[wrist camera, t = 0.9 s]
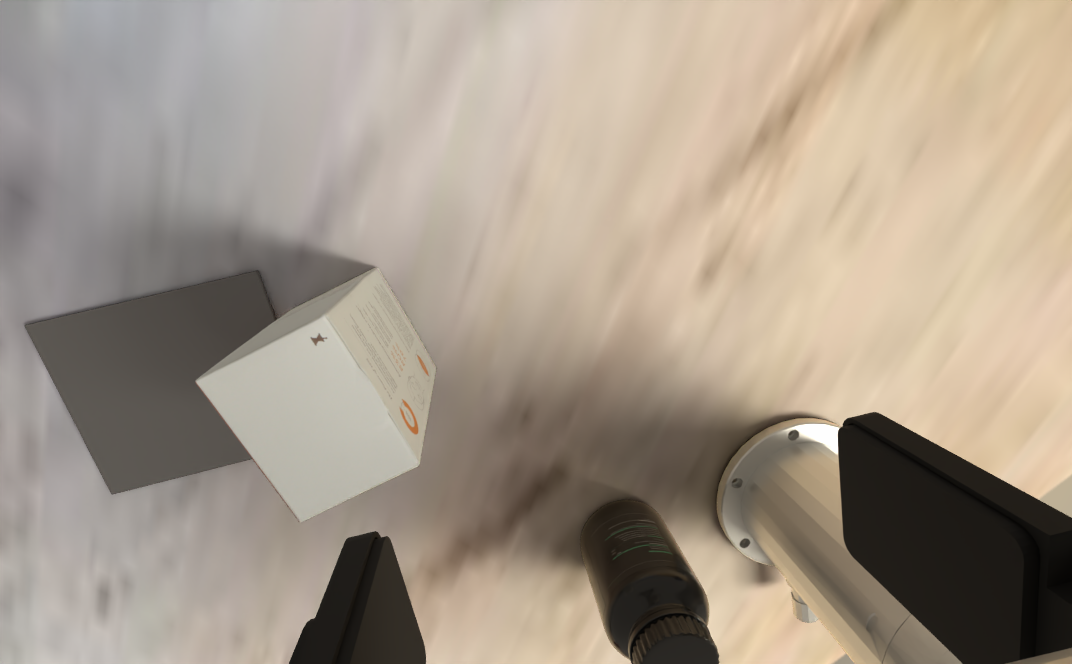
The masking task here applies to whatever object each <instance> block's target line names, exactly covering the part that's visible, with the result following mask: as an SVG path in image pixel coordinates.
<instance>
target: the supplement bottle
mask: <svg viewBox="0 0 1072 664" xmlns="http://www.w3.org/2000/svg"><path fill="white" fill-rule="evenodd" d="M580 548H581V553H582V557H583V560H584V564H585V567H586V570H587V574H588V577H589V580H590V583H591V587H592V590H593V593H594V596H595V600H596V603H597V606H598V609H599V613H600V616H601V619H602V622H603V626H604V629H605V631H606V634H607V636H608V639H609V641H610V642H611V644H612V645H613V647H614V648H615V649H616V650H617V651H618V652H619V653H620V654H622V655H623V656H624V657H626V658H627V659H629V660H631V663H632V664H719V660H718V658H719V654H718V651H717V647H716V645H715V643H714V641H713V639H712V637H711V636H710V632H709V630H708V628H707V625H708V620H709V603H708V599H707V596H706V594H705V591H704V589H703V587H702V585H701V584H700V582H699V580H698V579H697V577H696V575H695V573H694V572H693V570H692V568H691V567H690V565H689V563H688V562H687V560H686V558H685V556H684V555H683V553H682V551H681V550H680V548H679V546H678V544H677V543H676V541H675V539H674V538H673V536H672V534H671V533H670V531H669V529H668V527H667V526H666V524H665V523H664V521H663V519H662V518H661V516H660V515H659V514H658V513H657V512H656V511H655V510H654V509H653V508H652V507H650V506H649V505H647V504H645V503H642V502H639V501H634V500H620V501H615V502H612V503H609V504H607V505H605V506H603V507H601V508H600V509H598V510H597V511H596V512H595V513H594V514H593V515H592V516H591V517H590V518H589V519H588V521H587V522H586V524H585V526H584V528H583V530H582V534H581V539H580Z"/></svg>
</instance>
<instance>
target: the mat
mask: <svg viewBox="0 0 1072 664" xmlns="http://www.w3.org/2000/svg"><path fill="white" fill-rule="evenodd" d="M274 321H276V317H275V314H274V312H273V309H272V306H271V304H270V301H269V298H268V296H267V293H266V290H265V288H264V285H263V282H262V280H261V277H260V274H259V272H258V271H254V272H250V273H245V274H241V275H237V276H233V277H228V278H224V279H220V280H215V281H211V282H207V283H203V284H198V285H194V286H190V287H186V288H181V289H177V290H173V291H169V292H164V293H160V294H156V295H152V296H147V297H143V298H139V299H134V300H130V301H126V302H122V303H117V304H113V305H109V306H105V307H100V308H96V309H92V310H88V311H83V312H79V313H75V314H71V315H66V316H62V317H58V318H54V319H49V320H45V321H41V322H36V323H32V324H28V325H25V328H26V330H27V331H28V333H29V335H30V337H31V339H32V341H33V343H34V345H35V347H36V349H37V351H38V353H39V355H40V357H41V359H42V361H43V362H44V364H45V366H46V368H47V370H48V372H49V374H50V376H51V378H52V380H53V382H54V384H55V386H56V388H57V390H58V392H59V393H60V395H61V397H62V399H63V401H64V403H65V405H66V407H67V409H68V411H69V413H70V415H71V417H72V419H73V421H74V423H75V424H76V426H77V428H78V430H79V432H80V434H81V436H82V438H83V440H84V442H85V444H86V446H87V448H88V450H89V452H90V454H91V455H92V457H93V459H94V461H95V463H96V465H97V467H98V469H99V471H100V473H101V475H102V477H103V479H104V481H105V483H106V485H107V486H108V488H109V490H110V492H111V494H116V493H120V492H124V491H128V490H132V489H136V488H140V487H144V486H148V485H151V484H155V483H159V482H163V481H167V480H171V479H175V478H179V477H183V476H187V475H191V474H195V473H199V472H202V471H206V470H210V469H214V468H218V467H222V466H226V465H230V464H234V463H238V462H242V461H246V460H250V459H252V458H251V456H250V455H249V454H248V452H247V451H246V450H245V448H244V447H243V446H242V444H241V443H240V442H239V440H238V439H237V438H236V436H235V435H234V434H233V432H232V431H231V430H230V428H229V427H228V426H227V424H226V423H225V422H224V420H223V419H222V418H221V416H220V415H219V414H218V412H217V411H216V410H215V408H214V407H213V406H212V404H211V403H210V402H209V400H208V399H207V398H206V396H205V395H204V394H203V392H202V391H201V390H200V388H199V387H198V386H197V384H196V382H195V381H196V380H197V379H198V378H199V377H200V376H202V375H203V374H204V373H206V372H207V371H208V370H209V369H211V368H212V367H213V366H215V365H216V364H217V363H219V362H220V361H221V360H223V359H224V358H225V357H227V356H228V355H229V354H231V353H232V352H233V351H235V350H236V349H237V348H239V347H240V346H242V345H243V344H244V343H246V342H247V341H249V340H250V339H251V338H253V337H254V336H255V335H257V334H258V333H259V332H261V331H262V330H263V329H265V328H266V327H267V326H269V325H270V324H271V323H273V322H274Z"/></svg>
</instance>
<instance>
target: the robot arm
mask: <svg viewBox="0 0 1072 664" xmlns="http://www.w3.org/2000/svg"><path fill="white" fill-rule="evenodd" d="M716 500H717V514H718V518H719V522H720V525H721V527H722V529H723V531H724V533H725V535H726V536H727V538H728V539H729V540H730V541H731V543H732V544H733V546H734V547H735V548H736V549H737V550H739V551H740V552H741V553H742V554H743V555H744V556H746V557H748V558H750V559H751V560H753V561H755V562H759V563H762V564H765V565H771V566H776V567H777V569H778V570H779V571H780V572H781V573H782V575H783V576H784V577H785V578H786V581H787V583H788V585H789V586H790V587H791V588H792V592H791V593H792V603H793V613H794V615H795V616H796V618H797V619H799V620H801V621H802V622H807V623H812V622H816V621H817V620H818V619H819V620H820V622H821V623H822V624H823V625H824V626H825V628H826V629H827V630H828V631H829V633H830V634H831V635H832V636H833V638H834V639H835V640H836V641H837V642H838V644H839V645H840V646H841V647H842V649H843V650H844V651H845V652H846V654H847V655H848V656H849V657H850V658H851V660H852V661H853V662H854V663H855V664H1072V518H1071V517H1069V516H1067V515H1065V514H1064V513H1062V512H1060V511H1058V510H1056V509H1054V508H1052V507H1051V506H1049V505H1047V504H1045V503H1043V502H1041V501H1040V500H1038V499H1036V498H1034V497H1032V496H1030V495H1029V494H1027V493H1025V492H1023V491H1021V490H1019V489H1018V488H1016V487H1014V486H1012V485H1010V484H1008V483H1007V482H1005V481H1003V480H1001V479H999V478H997V477H995V476H994V475H992V474H990V473H988V472H986V471H984V470H983V469H981V468H979V467H977V466H975V465H973V464H972V463H970V462H968V461H966V460H964V459H962V458H961V457H959V456H957V455H955V454H953V453H951V452H950V451H948V450H946V449H944V448H942V447H940V446H938V445H937V444H935V443H933V442H931V441H929V440H927V439H926V438H924V437H922V436H920V435H918V434H916V433H915V432H913V431H911V430H909V429H907V428H905V427H904V426H902V425H900V424H898V423H896V422H894V421H893V420H891V419H889V418H887V417H885V416H883V415H881V414H879V413H876V412H873V413H868V414H864V415H860V416H855V417H851V418H847V419H846V420H845V421H844V423H843V427H840V426H839V425H837V424H834V423H832V422H829V421H826V420H821V419H815V418H797V419H792V420H788V421H783V422H780V423H778V424H775V425H773V426H770V427H768V428H766V429H765V430H763V431H761V432H760V433H758V434H756V435H755V436H753V437H752V438H751V439H750V440H749V441H748V442H746V443H745V444H744V445H743V446H742V447H741V448H740V449H739V450H738V452H737V453H736V454H735V455H734V456H733V457H732V459H731V460H730V462H729V464H728V466H727V467H726V469H725V471H724V473H723V475H722V478H721V481H720V483H719V487H718V493H717V499H716ZM289 664H426V653H425V646H424V642H423V639H422V636H421V633H420V630H419V627H418V623H417V620H416V617H415V614H414V611H413V608H412V605H411V602H410V599H409V596H408V592H407V589H406V586H405V583H404V580H403V577H402V574H401V571H400V568H399V564H398V561H397V558H396V555H395V552H394V549H393V546H392V543H391V540H390V538H389V537H387V536H386V537H382V538H381V537H380V535H379V533H378V532H376V531H375V532H371V533H367V534H362V535H358V536H354V537H350V538H347V539H346V541H345V543H344V546H343V548H342V551H341V553H340V556H339V558H338V561H337V563H336V566H335V569H334V571H333V574H332V576H331V579H330V581H329V584H328V586H327V589H326V592H325V594H324V597H323V599H322V602H321V604H320V607H319V609H318V612H317V615H316V617H315V618H314V619H311V620H310V621H308V622H307V623H306V625H305V627H304V628H303V630H302V633H301V635H300V638H299V640H298V643H297V645H296V647H295V650H294V652H293V655H292V657H291V660H290V662H289Z"/></svg>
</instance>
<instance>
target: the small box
mask: <svg viewBox="0 0 1072 664" xmlns="http://www.w3.org/2000/svg"><path fill="white" fill-rule="evenodd" d="M436 369H437V368H436V366H435V365H434V363H433V361H432V359H431V358H430V356H429V354H428V352H427V351H426V349H425V347H424V345H423V344H422V342H421V340H420V338H419V337H418V335H417V333H416V331H415V330H414V328H413V326H412V325H411V323H410V321H409V319H408V318H407V316H406V314H405V313H404V311H403V309H402V308H401V306H400V304H399V302H398V301H397V299H396V297H395V296H394V294H393V292H392V290H391V289H390V287H389V285H388V284H387V282H386V280H385V279H384V277H383V275H382V274H381V272H380V270H379V269H378V268H377V267H376V268H373V269H371V270H369V271H367V272H365V273H363V274H361V275H359V276H357V277H355V278H353V279H351V280H349V281H347V282H345V283H343V284H341V285H339V286H337V287H335V288H333V289H331V290H329V291H327V292H325V293H323V294H321V295H319V296H317V297H315V298H313V299H311V300H309V301H307V302H305V303H303V304H301V305H299V306H297V307H295V308H293V309H291V310H290V311H289V312H287V313H286V314H284V315H283V316H282V317H280V318H279V319H277V320H276V321H274V322H273V323H271V324H270V325H269V326H267V327H266V328H265V329H263V330H262V331H261V332H259V333H258V334H257V335H255V336H254V337H253V338H251V339H250V340H249V341H247V342H246V343H244V344H243V345H242V346H240V347H239V348H237V349H236V350H235V351H233V352H232V353H231V354H229V355H228V356H227V357H225V358H224V359H223V360H221V361H220V362H219V363H217V364H216V365H215V366H213V367H212V368H211V369H209V370H208V371H207V372H206V373H204V374H203V375H202V376H200V377H199V378H198V379H197V380H196V381H195V382H196V384H197V386H198V387H199V388H200V390H201V391H202V392H203V394H204V395H205V396H206V398H207V399H208V400H209V402H210V403H211V404H212V406H213V407H214V408H215V410H216V411H217V412H218V414H219V415H220V416H221V418H222V419H223V420H224V422H225V423H226V424H227V426H228V427H229V428H230V430H231V431H232V432H233V434H234V435H235V436H236V438H237V439H238V440H239V442H240V443H241V444H242V446H243V447H244V448H245V450H246V451H247V452H248V454H249V455H250V456H251V458H252V459H253V460H254V462H255V463H256V464H257V466H258V467H259V469H260V470H261V471H262V473H263V474H264V475H265V477H266V478H267V479H268V480H269V482H270V483H271V484H272V486H273V487H274V488H275V490H276V491H277V492H278V494H279V495H280V496H281V498H282V499H283V501H284V502H285V503H286V505H287V506H288V507H289V509H290V510H291V511H292V513H293V514H294V515H295V517H296V518H297V519H298V521H299V522H304V521H306V520H308V519H310V518H312V517H314V516H316V515H318V514H320V513H322V512H324V511H326V510H328V509H330V508H332V507H334V506H336V505H338V504H341V503H343V502H345V501H347V500H349V499H351V498H353V497H355V496H357V495H359V494H361V493H364V492H366V491H368V490H370V489H372V488H374V487H376V486H378V485H380V484H382V483H384V482H387V481H389V480H391V479H393V478H395V477H397V476H399V475H401V474H403V473H405V472H408V471H410V470H412V469H414V468H416V467H418V466H419V465H420V460H421V454H422V448H423V442H424V437H425V431H426V425H427V420H428V414H429V409H430V403H431V397H432V392H433V386H434V380H435V375H436Z"/></svg>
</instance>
